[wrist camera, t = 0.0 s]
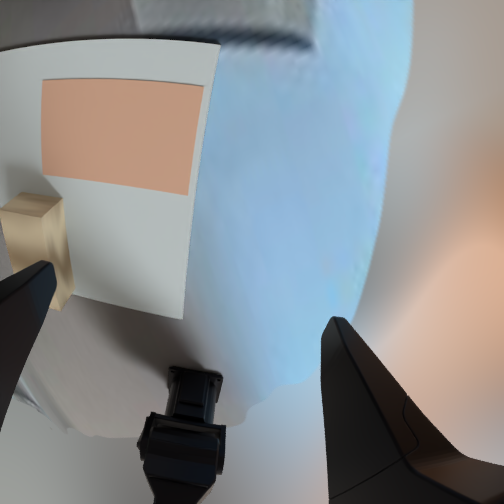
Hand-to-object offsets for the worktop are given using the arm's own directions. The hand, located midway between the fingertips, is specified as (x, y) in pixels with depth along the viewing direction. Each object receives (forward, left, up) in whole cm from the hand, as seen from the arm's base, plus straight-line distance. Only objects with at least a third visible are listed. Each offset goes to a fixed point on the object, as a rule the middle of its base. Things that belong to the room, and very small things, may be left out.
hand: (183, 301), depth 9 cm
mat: (-4, +12, -15) cm, 19 cm away
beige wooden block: (-10, +16, -14) cm, 24 cm away
